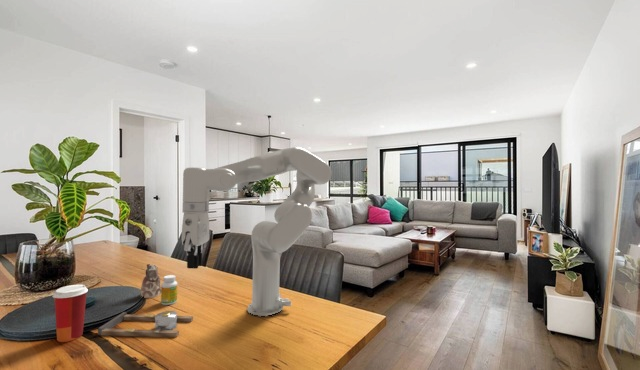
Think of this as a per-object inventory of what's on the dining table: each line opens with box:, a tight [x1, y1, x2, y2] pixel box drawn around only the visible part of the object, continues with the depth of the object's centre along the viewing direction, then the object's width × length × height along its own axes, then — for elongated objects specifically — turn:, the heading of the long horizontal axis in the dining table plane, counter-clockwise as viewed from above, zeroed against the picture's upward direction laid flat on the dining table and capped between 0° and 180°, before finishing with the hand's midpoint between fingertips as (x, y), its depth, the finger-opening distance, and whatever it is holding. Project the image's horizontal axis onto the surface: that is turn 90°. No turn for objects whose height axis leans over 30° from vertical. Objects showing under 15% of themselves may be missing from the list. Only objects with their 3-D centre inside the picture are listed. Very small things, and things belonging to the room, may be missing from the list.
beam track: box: [97, 311, 194, 338], centre depth 91 cm, size 23×11×2 cm, turn 89°
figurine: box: [140, 263, 162, 299], centre depth 117 cm, size 7×7×12 cm
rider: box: [154, 310, 178, 330], centre depth 91 cm, size 6×6×4 cm
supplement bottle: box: [160, 274, 178, 306], centre depth 110 cm, size 5×5×10 cm
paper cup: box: [51, 284, 89, 343], centre depth 85 cm, size 8×8×14 cm
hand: (194, 266), depth 91 cm, fingers closed
